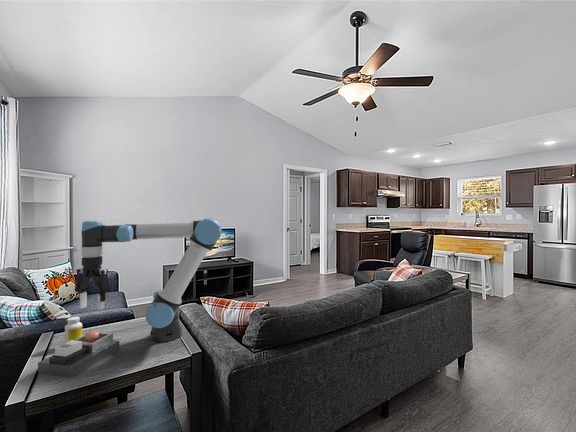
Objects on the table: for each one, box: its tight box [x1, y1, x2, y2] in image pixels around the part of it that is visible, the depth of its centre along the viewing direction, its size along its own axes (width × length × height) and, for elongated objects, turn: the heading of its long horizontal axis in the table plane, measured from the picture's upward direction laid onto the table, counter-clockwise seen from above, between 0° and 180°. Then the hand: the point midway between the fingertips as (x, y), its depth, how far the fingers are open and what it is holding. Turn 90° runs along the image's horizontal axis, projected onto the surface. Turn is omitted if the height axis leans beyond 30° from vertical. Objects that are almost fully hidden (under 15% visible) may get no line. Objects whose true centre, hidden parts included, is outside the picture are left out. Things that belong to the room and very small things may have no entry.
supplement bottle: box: [64, 316, 83, 344], centre depth 135 cm, size 7×7×13 cm
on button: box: [54, 340, 82, 357], centre depth 116 cm, size 5×7×3 cm
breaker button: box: [84, 330, 100, 342], centre depth 127 cm, size 5×5×3 cm
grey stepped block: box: [37, 331, 120, 378], centre depth 122 cm, size 16×23×8 cm
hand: (92, 308), depth 127 cm, fingers open, 8 cm apart
